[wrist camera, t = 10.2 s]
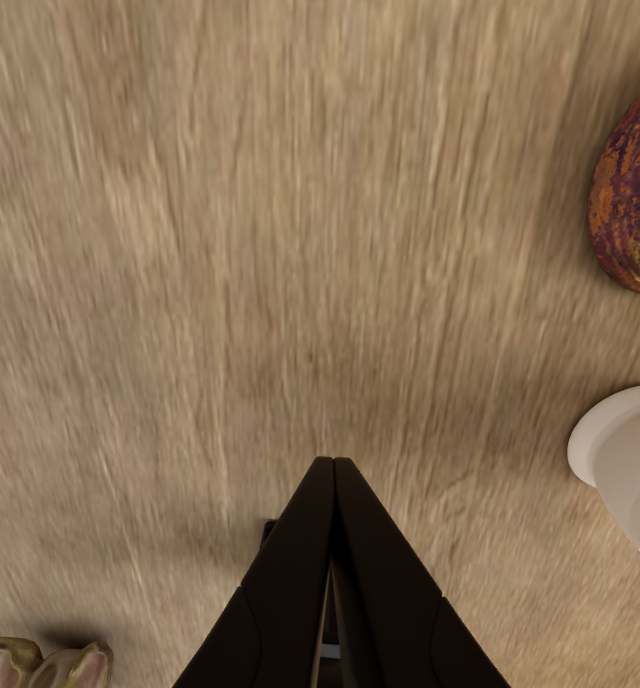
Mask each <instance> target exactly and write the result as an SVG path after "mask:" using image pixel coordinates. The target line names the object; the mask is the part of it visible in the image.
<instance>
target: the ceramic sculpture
mask: <svg viewBox="0 0 640 688" xmlns="http://www.w3.org/2000/svg"><path fill="white" fill-rule="evenodd" d="M112 665H113V651H112V650H111V648H110V647H109V646H108V644H107V643H106V642H103V641H101V640H97V641H95V642H92V643H91V644H89V645H88V646H86V647H85V648H83V649H62V650H59V651H56V652H54V653H52V654H51V655H49V656H48V657H47V658H46V659H43V658H42V654H41V651H40V648H39V646H38V645H37V644H36V643H35V642H34V641H31V640H28V639H23V638H13V637H0V688H108V685H109V682H110V678H111V673H112Z"/></svg>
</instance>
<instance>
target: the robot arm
mask: <svg viewBox="0 0 640 688" xmlns="http://www.w3.org/2000/svg"><path fill="white" fill-rule="evenodd" d="M172 688H511V686H510V685H509V684H508V683H507V681H506V680H505V679H504V677H503V676H502V675H501V674H500V672H499V671H498V670H497V668H496V667H495V666H494V665H493V663H492V662H491V661H490V659H489V658H488V657H487V655H486V654H485V652H484V651H483V650H482V648H481V647H480V645H479V644H478V643H477V641H476V640H475V638H474V637H473V636H472V634H471V633H470V631H469V630H468V629H467V627H466V626H465V624H464V623H463V622H462V620H461V619H460V617H459V616H458V614H457V613H456V611H455V610H454V608H453V607H452V605H451V604H450V603H449V601H448V600H447V598H446V597H442V591H441V590H440V588H439V587H438V585H437V584H436V582H435V581H434V579H433V578H432V577H431V575H430V574H429V572H428V571H427V569H426V568H425V566H424V565H423V563H422V562H421V560H420V559H419V558H418V556H417V555H416V553H415V552H414V550H413V549H412V547H411V546H410V544H409V543H408V541H407V540H406V539H405V537H404V536H403V534H402V533H401V531H400V530H399V528H398V527H397V525H396V524H395V522H394V521H393V520H392V518H391V517H390V515H389V514H388V512H387V511H386V509H385V508H384V506H383V505H382V503H381V502H380V501H379V499H378V498H377V496H376V495H375V493H374V492H373V490H372V489H371V487H370V486H369V484H368V483H367V482H366V480H365V479H364V477H363V476H362V474H361V473H360V471H359V470H358V468H357V467H356V465H355V464H354V463H353V461H352V460H351V459H350V458H343V457H335V458H334V460H333V458H332V457H322V456H318V457H316V458H315V459H314V461H313V463H312V464H311V466H310V468H309V469H308V471H307V473H306V474H305V476H304V478H303V479H302V481H301V483H300V484H299V486H298V488H297V489H296V491H295V493H294V494H293V496H292V498H291V499H290V501H289V503H288V505H287V506H286V508H285V510H284V511H283V513H282V515H281V516H280V518H279V520H278V521H277V522H273V521H269V522H267V523H266V524H265V527H264V532H263V537H262V541H261V546H260V550H259V553H258V555H257V556H256V558H255V560H254V561H253V563H252V565H251V566H250V568H249V570H248V571H247V573H246V575H245V576H244V578H243V580H242V581H241V587H240V586H239V587H238V588H237V589H236V591H235V592H234V594H233V596H232V597H231V599H230V601H229V602H228V604H227V606H226V607H225V609H224V611H223V612H222V614H221V615H220V617H219V619H218V620H217V622H216V623H215V625H214V626H213V628H212V630H211V631H210V633H209V634H208V636H207V637H206V639H205V641H204V642H203V644H202V645H201V647H200V648H199V650H198V651H197V652H196V654H195V655H194V657H193V658H192V660H191V661H190V662H189V664H188V665H187V667H186V668H185V670H184V671H183V672H182V674H181V675H180V677H179V678H178V680H177V681H176V682H175V684H174V685H173V687H172Z"/></svg>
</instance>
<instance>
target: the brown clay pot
mask: <svg viewBox="0 0 640 688" xmlns="http://www.w3.org/2000/svg"><path fill="white" fill-rule="evenodd" d="M587 219H588V228H589V234H590V240H591V243H592V247H593V249H594V252H595V255H596V257H597V259H598V261H599V263H600V266H601V267H602V268H603V270H604V271H605V272H606V273H607V275H608V276H609V277H610V278H612V279H613V280H614V281H616V282H617V283H618V284H619V285H621V286H623V287H624V288H626V289H629V290H631V291H633V292H636V293H639V294H640V98H639V99H638V100H637V101H636V102H635V103H634V104H633V105H632V106H631V107H630V108H629V109H628V110H627V112H626V113H625V115H624V116H623V118H622V119H621V120H620V122H619V123H618V124H617V125H616V127H615V129H614V130H613V132H612V133H611V135H610V137H609V139H608V140H607V142H606V144H605V147H604V149H603V151H602V153H601V155H600V157H599V159H598V161H597V164H596V166H595V170H594V173H593V176H592V181H591V188H590V190H589V196H588V201H587Z"/></svg>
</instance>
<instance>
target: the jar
mask: <svg viewBox="0 0 640 688" xmlns="http://www.w3.org/2000/svg"><path fill="white" fill-rule="evenodd" d="M567 457H568V462H569V465H570V467H571V469H572V471H573V472H574V473H575V475H576V476H577V477H578V478H580V479H581V480H582V481H584V482H585V483H587V484H589V485H591V486H593V487H595V488H597V489H598V492H599V494H600V496H601V499H602V501H603V503H604V505H605V506H606V508H607V510H608V512H609V513H610V515H611V516H612V518H613V519H614V521H615V522H616V523H617V525H618V526H619V528H620V529H621V530H622V531H623V533H624V534H625V535H626V536H627V538H628V539H629V540H630V541H631V542H632V544H633V545H634V546H635V547H636V548H637V549H638V551H639V552H640V386H636V387H632V388H629V389H625V390H622V391H620V392H618V393H615V394H613V395H611V396H609V397H607V398H606V399H604V400H602V401H601V402H599V403H598V404H596V405H595V406H594V407H593V408H591V409H590V410H589V411H588V412H587V413H586V414H585V415H584V416H583V417H582V418H581V419H580V421H579V422H578V424H577V425H576V427H575V428H574V430H573V432H572V434H571V436H570V439H569V442H568V447H567Z"/></svg>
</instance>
